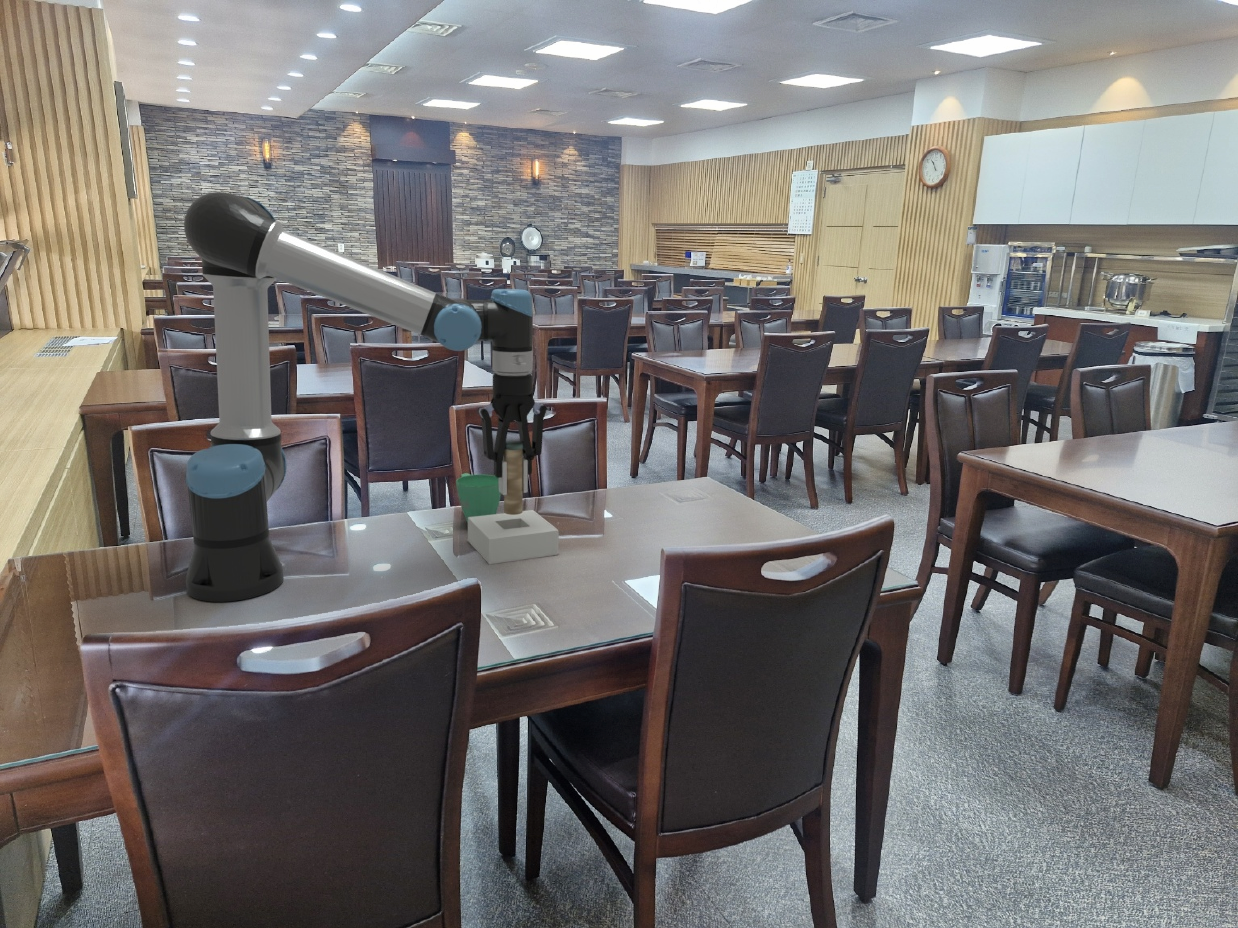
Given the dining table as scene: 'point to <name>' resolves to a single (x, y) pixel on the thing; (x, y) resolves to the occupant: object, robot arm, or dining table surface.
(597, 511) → the dining table surface
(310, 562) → the dining table surface
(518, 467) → the peg
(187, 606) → the dining table surface
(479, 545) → the socket block
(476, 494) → the mug
